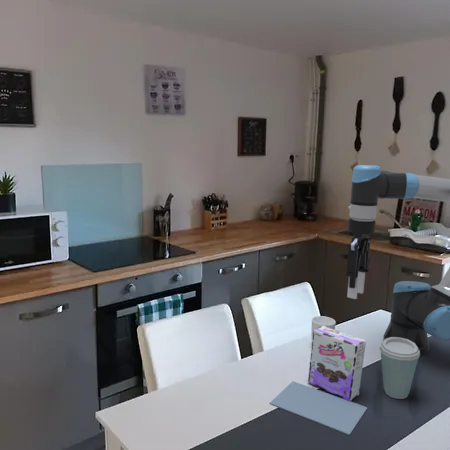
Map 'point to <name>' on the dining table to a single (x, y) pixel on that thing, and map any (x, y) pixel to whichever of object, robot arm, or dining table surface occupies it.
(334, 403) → the mat
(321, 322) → the white cup
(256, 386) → the dining table surface
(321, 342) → the candy box
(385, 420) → the dining table surface
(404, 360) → the disposable coffee cup
